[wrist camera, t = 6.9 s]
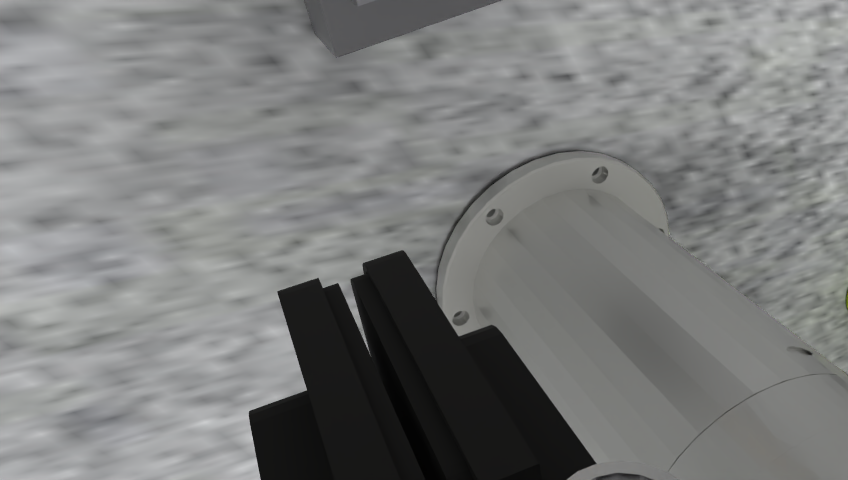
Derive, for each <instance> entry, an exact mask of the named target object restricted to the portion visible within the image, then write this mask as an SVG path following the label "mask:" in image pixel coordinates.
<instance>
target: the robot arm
mask: <svg viewBox="0 0 848 480" xmlns="http://www.w3.org/2000/svg"><path fill="white" fill-rule="evenodd" d="M363 271H364V275H361V276H358V277H355V278H352V279H351V285H352V289H353V293H354V296H355V300H356V304H357V307H358V311H359V315H360V318H361V322H362V325H363V329H364V333H365V336H366V340H367V344H368V347H369V351H370V354H371V356H370V354H369V351H368V349H367V347H366V345H365V342H364V340H363V338H362V336H361V333H360V331H359V329H358V327H357V324H356V322H355V320H354V318H353V315H352V313H351V311H350V309H349V306H348V304H347V302H346V300H345V297H344V295H343V293H342V291H341V288H340V286H339V284H338V283H337V284H334V285H331V286H328V287H325V288H322V285H321V283H320V280H319V278H317V279H313V280H310V281H307V282H304V283H301V284H298V285H295V286H292V287H289V288H286V289H283V290H280V291H277V292H278V296H279V299H280V302H281V306H282V309H283V312H284V315H285V319H286V322H287V325H288V329H289V332H290V335H291V338H292V342H293V345H294V348H295V352H296V355H297V358H298V361H299V365H300V368H301V371H302V375H303V378H304V381H305V384H306V388H307V391H304V392H301V393H299V394H296V395H293V396H290V397H287V398H285V399H282V400H279V401H276V402H273V403H271V404H268V405H265V406H262V407H259V408H257V409H254V410H251V411H249V419H250V425H251V431H252V436H253V441H254V446H255V452H256V457H257V462H258V467H259V472H260V478H261V480H848V375H847V374H846V373H844V372H843V371H842V370H841V369H839V368H838V367H837V366H835V365H834V364H833V363H831V362H830V361H829V360H828V359H826V358H825V357H824V356H822V355H821V354H820V353H819V352H817V351H816V350H815V349H813V348H812V347H811V346H809V345H808V344H807V343H806V342H804V341H803V340H802V339H800V338H799V337H798V336H796V335H795V334H794V333H793V332H791V331H790V330H789V329H787V328H786V327H785V326H783V325H782V324H781V323H780V322H778V321H777V320H776V319H774V318H773V317H772V316H770V315H769V314H768V313H767V312H765V311H764V310H763V309H761V308H760V307H759V306H757V305H756V304H755V303H754V302H752V301H751V300H750V299H748V298H747V297H746V296H745V295H743V294H742V293H741V292H739V291H738V290H737V289H735V288H734V287H733V286H732V285H730V284H729V283H728V282H726V281H725V280H724V279H722V278H721V277H720V276H719V275H717V274H716V273H715V272H713V271H712V270H711V269H709V268H708V267H707V266H706V265H704V264H703V263H702V262H700V261H699V260H698V259H696V258H695V257H694V256H693V255H691V254H690V253H689V252H687V251H686V250H685V249H684V248H682V247H681V246H680V245H678V244H677V243H676V242H674V241H673V240H672V239H671V238H669V227H668V218H667V214H666V211H665V208H664V205H663V202H662V200H661V197H660V196H659V194H658V193H657V191H656V190H655V188H654V187H653V185H652V184H651V183H650V182H649V181H648V180H647V179H646V178H645V177H643V176H642V175H641V174H640V173H639V172H638V171H636V170H635V169H633V168H632V167H630V166H629V165H627V164H625V163H624V162H622V161H621V160H619V159H616V158H613V157H610V156H607V155H605V154H602V153H594V152H585V151H575V152H564V153H556V154H553V155H550V156H546V157H543V158H539V159H536V160H533V161H531V162H529V163H527V164H525V165H523V166H521V167H519V168H517V169H515V170H513V171H511V172H510V173H508V174H507V175H505V176H504V177H503V178H501V179H500V180H498V181H497V182H496V183H494V184H493V185H491V186H490V187H489V188H488V189H487V190H486V191H485V192H484V193H483V194H482V195H481V196H480V197H479V198H478V199H477V200H476V201H475V202H474V203H473V204H472V205H471V206H470V208H469V209H468V210H467V212H466V213H465V214H464V216H463V217H462V218H461V220H460V221H459V222H458V224H457V225H456V227H455V229H454V231H453V233H452V235H451V237H450V239H449V241H448V242H447V244H446V246H445V250H444V253H443V256H442V259H441V262H440V266H439V269H438V278H437V287H436V293H437V301H436V300H435V298H434V297H433V295H432V294H431V292H430V290H429V289H428V287H427V286H426V284H425V283H424V281H423V279H422V278H421V276H420V275H419V273H418V272H417V270H416V268H415V267H414V265H413V264H412V262H411V260H410V259H409V257H408V256H407V254H406V253H405V252H404V251H403V250H401V251H398V252H395V253H392V254H389V255H386V256H383V257H380V258H377V259H374V260H371V261H368V262H365V263H363Z"/></svg>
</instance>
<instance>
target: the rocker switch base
mask: <svg viewBox="0 0 848 480" xmlns="http://www.w3.org/2000/svg"><path fill="white" fill-rule="evenodd" d="M304 1H305V4H306V7H307V10H308V14H309V17H310V20H311V23H312V26H313V29H314V33H315V35H316V36H317V37H318V38H319V39H320V40H321V41H322V42H323V43H324V45H325V46H326V47H327V48H328V49H329V50H330V51H331V52H332V54H333V55H334V56H335V57H336V58H337V57H340V56H343V55H346V54H349V53H352V52H355V51H357V50H360V49H363V48H366V47H369V46H372V45H375V44H378V43H380V42H383V41H386V40H389V39H392V38H395V37H398V36H401V35H403V34H406V33H409V32H412V31H415V30H418V29H421V28H424V27H426V26H429V25H432V24H435V23H438V22H441V21H444V20H447V19H449V18H452V17H455V16H458V15H461V14H464V13H467V12H470V11H472V10H475V9H478V8H481V7H484V6H487V5H490V4H493V3H495V2H498V1H501V0H304Z"/></svg>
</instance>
